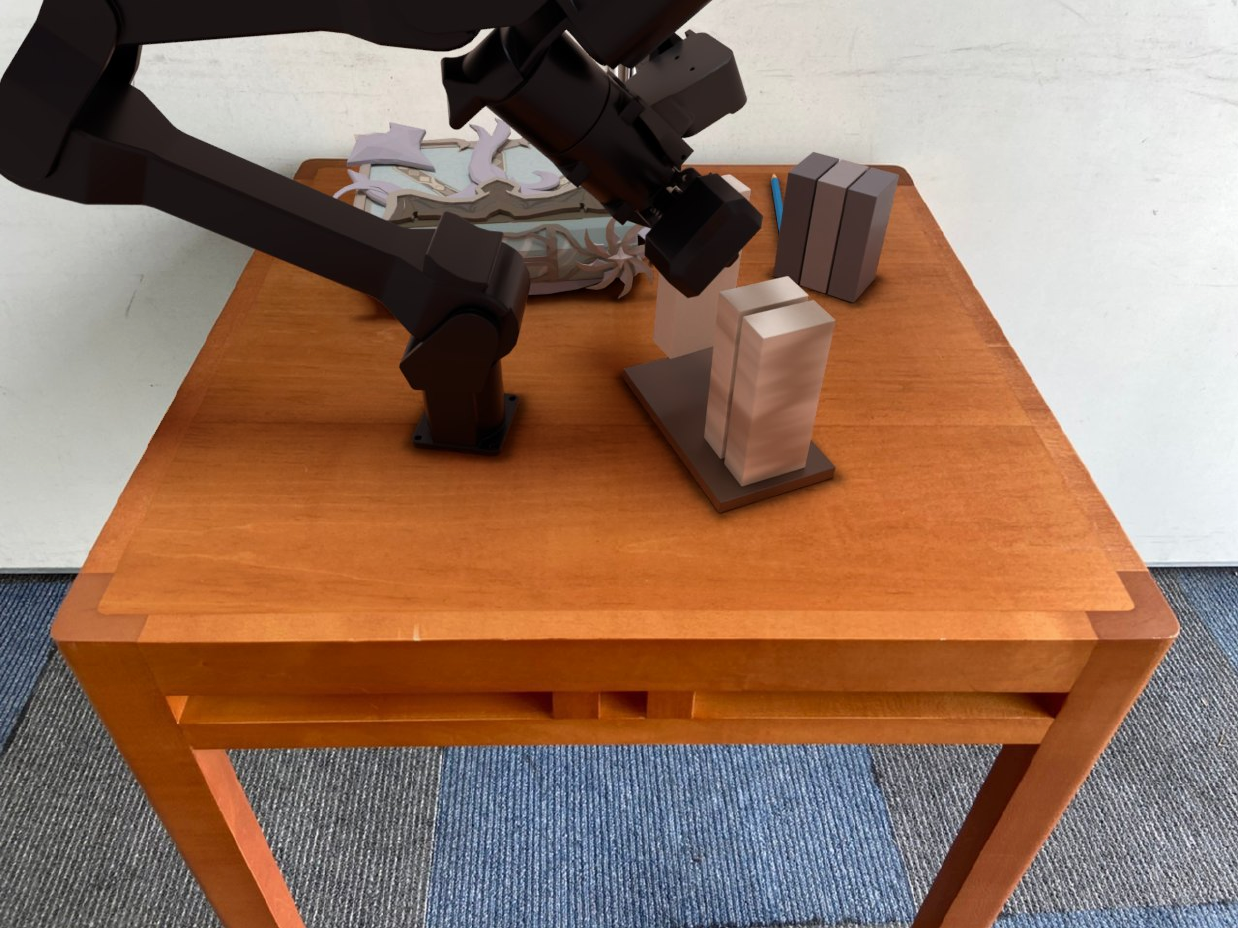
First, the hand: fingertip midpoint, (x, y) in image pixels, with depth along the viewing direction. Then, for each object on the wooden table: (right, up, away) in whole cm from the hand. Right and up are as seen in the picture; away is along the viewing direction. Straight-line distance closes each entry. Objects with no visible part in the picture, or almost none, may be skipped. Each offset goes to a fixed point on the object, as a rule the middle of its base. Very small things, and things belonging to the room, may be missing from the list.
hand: (723, 251), depth 62 cm
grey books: (+12, +2, +20) cm, 23 cm away
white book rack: (0, -12, +5) cm, 13 cm away
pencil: (+9, +10, +29) cm, 32 cm away
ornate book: (-17, +6, +23) cm, 30 cm away
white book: (-2, -6, +4) cm, 7 cm away
